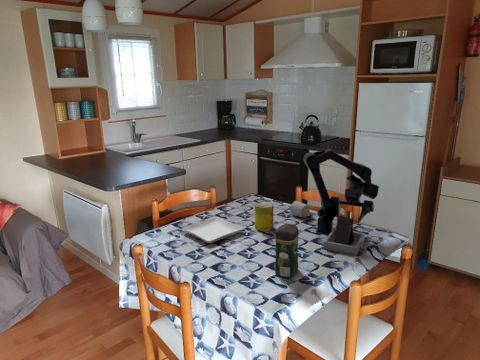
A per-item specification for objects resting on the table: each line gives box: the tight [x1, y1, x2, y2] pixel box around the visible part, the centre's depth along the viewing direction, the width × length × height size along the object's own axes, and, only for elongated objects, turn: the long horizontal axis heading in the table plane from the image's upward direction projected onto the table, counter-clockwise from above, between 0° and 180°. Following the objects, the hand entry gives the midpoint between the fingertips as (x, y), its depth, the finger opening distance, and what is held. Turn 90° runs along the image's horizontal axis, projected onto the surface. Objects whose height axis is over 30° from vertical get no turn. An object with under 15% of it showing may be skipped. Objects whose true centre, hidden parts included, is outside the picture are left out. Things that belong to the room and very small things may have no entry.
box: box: [322, 228, 366, 257], centre depth 163 cm, size 14×16×4 cm
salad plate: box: [182, 216, 244, 244], centre depth 178 cm, size 21×21×3 cm
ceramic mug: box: [289, 200, 311, 219], centre depth 199 cm, size 11×8×8 cm
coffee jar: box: [274, 223, 299, 278], centre depth 139 cm, size 10×8×19 cm
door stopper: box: [334, 216, 355, 245], centre depth 161 cm, size 9×6×12 cm, turn 142°
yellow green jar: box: [254, 201, 274, 232], centre depth 183 cm, size 9×9×12 cm
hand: (348, 220), depth 165 cm, fingers open, 9 cm apart
